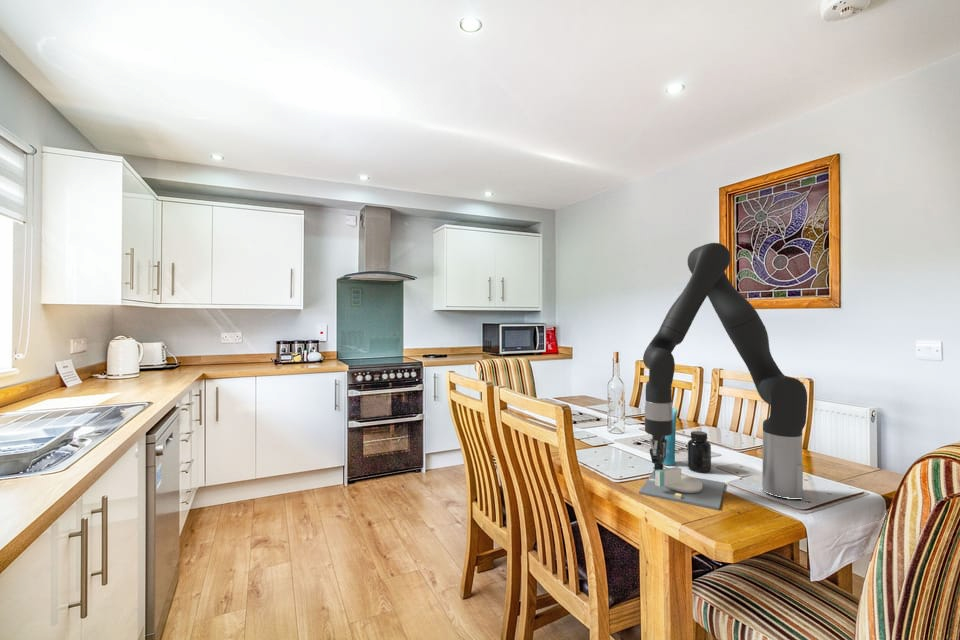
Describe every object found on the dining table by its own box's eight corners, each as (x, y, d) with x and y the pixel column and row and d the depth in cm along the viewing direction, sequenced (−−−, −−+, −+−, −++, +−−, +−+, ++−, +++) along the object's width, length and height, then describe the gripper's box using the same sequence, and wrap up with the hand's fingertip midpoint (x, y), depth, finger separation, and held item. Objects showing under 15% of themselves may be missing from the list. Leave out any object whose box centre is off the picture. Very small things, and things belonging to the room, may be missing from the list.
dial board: (724, 484, 133) (724, 479, 133) (719, 510, 116) (719, 504, 116) (653, 472, 144) (653, 467, 144) (639, 493, 127) (639, 488, 127)
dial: (682, 477, 137) (682, 459, 136) (710, 489, 127) (710, 469, 127) (644, 484, 131) (644, 465, 131) (671, 497, 122) (671, 477, 122)
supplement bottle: (708, 467, 148) (708, 430, 148) (713, 474, 142) (713, 436, 141) (685, 465, 150) (686, 429, 150) (689, 472, 144) (689, 434, 143)
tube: (680, 464, 151) (681, 407, 150) (673, 467, 148) (673, 409, 147) (660, 459, 156) (660, 404, 156) (652, 462, 153) (652, 406, 153)
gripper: (668, 423, 122) (668, 486, 123) (676, 413, 133) (676, 471, 134) (639, 420, 126) (640, 481, 127) (650, 410, 137) (650, 466, 138)
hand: (658, 476), depth 130 cm, fingers closed
